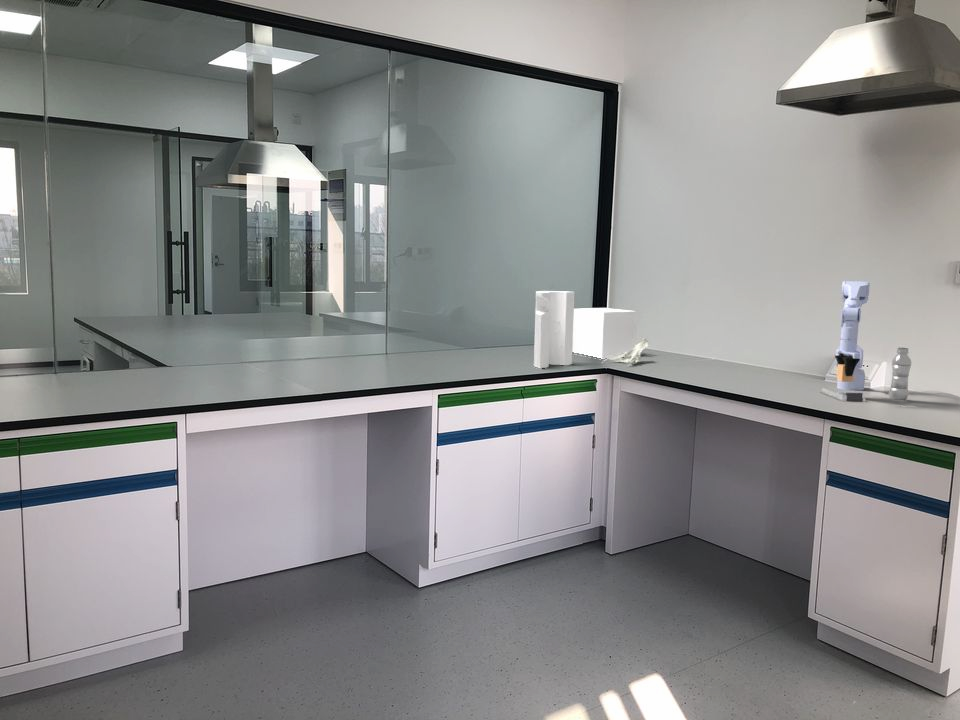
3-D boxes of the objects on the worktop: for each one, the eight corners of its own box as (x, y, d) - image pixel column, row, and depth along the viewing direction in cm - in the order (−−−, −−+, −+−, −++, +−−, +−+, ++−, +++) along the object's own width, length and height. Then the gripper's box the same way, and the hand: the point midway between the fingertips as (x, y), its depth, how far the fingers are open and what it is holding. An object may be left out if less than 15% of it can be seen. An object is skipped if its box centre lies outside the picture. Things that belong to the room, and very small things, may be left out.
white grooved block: (573, 365, 364) (541, 369, 351) (556, 362, 373) (524, 366, 360) (575, 292, 359) (543, 292, 346) (558, 290, 368) (526, 291, 355)
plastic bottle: (901, 398, 293) (906, 347, 291) (911, 402, 287) (916, 349, 284) (884, 398, 293) (889, 346, 290) (894, 402, 286) (899, 349, 284)
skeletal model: (600, 363, 373) (626, 327, 382) (608, 376, 378) (634, 340, 387) (625, 367, 360) (652, 329, 370) (634, 380, 365) (659, 342, 374)
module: (847, 379, 291) (849, 364, 291) (853, 381, 287) (854, 365, 286) (836, 379, 291) (837, 364, 291) (841, 381, 287) (843, 365, 286)
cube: (634, 358, 397) (636, 311, 394) (602, 360, 387) (603, 312, 383) (603, 352, 419) (605, 307, 415) (572, 354, 408) (573, 308, 405)
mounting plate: (843, 394, 300) (844, 385, 299) (866, 403, 282) (867, 393, 281) (819, 394, 300) (820, 384, 299) (840, 403, 282) (841, 393, 281)
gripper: (829, 337, 294) (826, 371, 296) (847, 341, 280) (844, 377, 282) (847, 337, 294) (844, 372, 296) (866, 341, 280) (863, 378, 282)
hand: (845, 375), depth 289 cm, fingers closed on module, 4 cm apart
